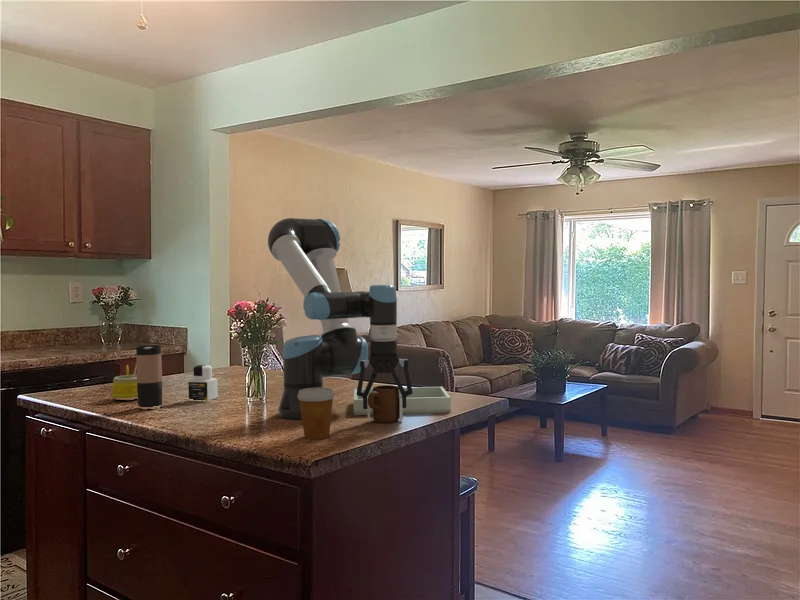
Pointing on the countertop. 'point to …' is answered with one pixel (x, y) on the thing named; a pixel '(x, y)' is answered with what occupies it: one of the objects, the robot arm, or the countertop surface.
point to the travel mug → (149, 375)
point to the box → (414, 401)
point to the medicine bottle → (203, 384)
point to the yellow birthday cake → (125, 385)
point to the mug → (384, 403)
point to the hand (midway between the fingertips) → (385, 419)
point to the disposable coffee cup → (316, 411)
